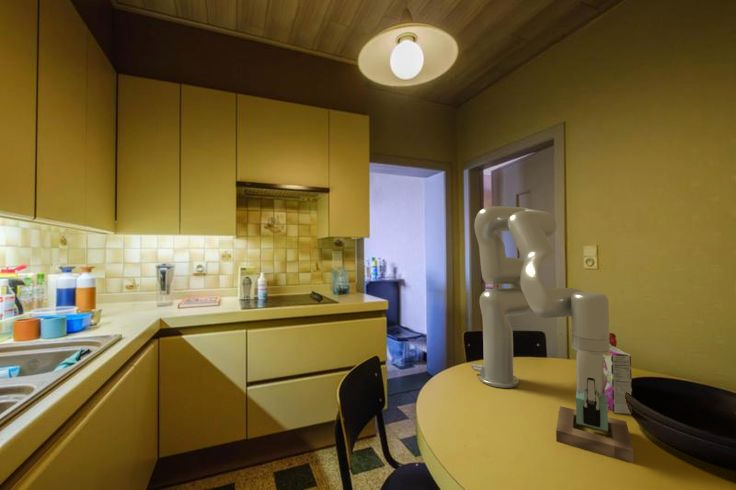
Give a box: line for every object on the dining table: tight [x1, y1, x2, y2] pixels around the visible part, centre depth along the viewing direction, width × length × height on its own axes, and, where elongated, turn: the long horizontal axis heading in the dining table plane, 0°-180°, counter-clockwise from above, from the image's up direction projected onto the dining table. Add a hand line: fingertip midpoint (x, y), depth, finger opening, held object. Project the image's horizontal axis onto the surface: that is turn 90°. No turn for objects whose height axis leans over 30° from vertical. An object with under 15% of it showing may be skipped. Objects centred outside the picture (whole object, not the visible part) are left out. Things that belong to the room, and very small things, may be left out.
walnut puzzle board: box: [555, 405, 635, 464], centre depth 76 cm, size 14×14×2 cm
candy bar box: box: [602, 344, 633, 416], centre depth 91 cm, size 11×5×16 cm, turn 168°
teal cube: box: [575, 388, 609, 431], centre depth 76 cm, size 6×6×6 cm
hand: (591, 417), depth 76 cm, fingers closed on teal cube, 6 cm apart
